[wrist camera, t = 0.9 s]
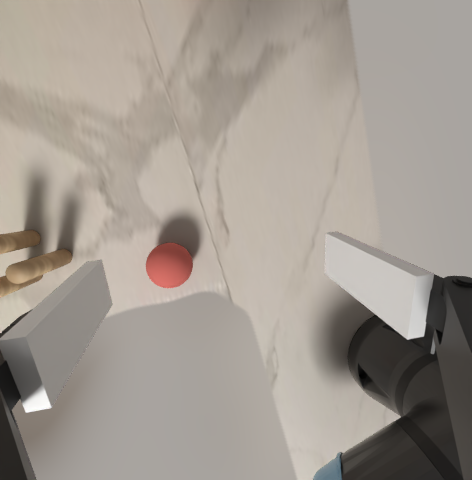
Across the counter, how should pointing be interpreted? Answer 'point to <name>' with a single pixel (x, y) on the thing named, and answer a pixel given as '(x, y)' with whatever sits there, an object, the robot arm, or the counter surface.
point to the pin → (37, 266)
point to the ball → (169, 265)
